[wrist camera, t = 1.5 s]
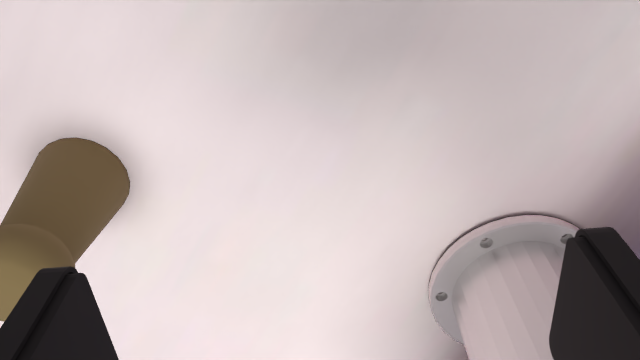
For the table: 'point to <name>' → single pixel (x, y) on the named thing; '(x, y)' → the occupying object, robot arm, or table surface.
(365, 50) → the table surface
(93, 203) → the cork
